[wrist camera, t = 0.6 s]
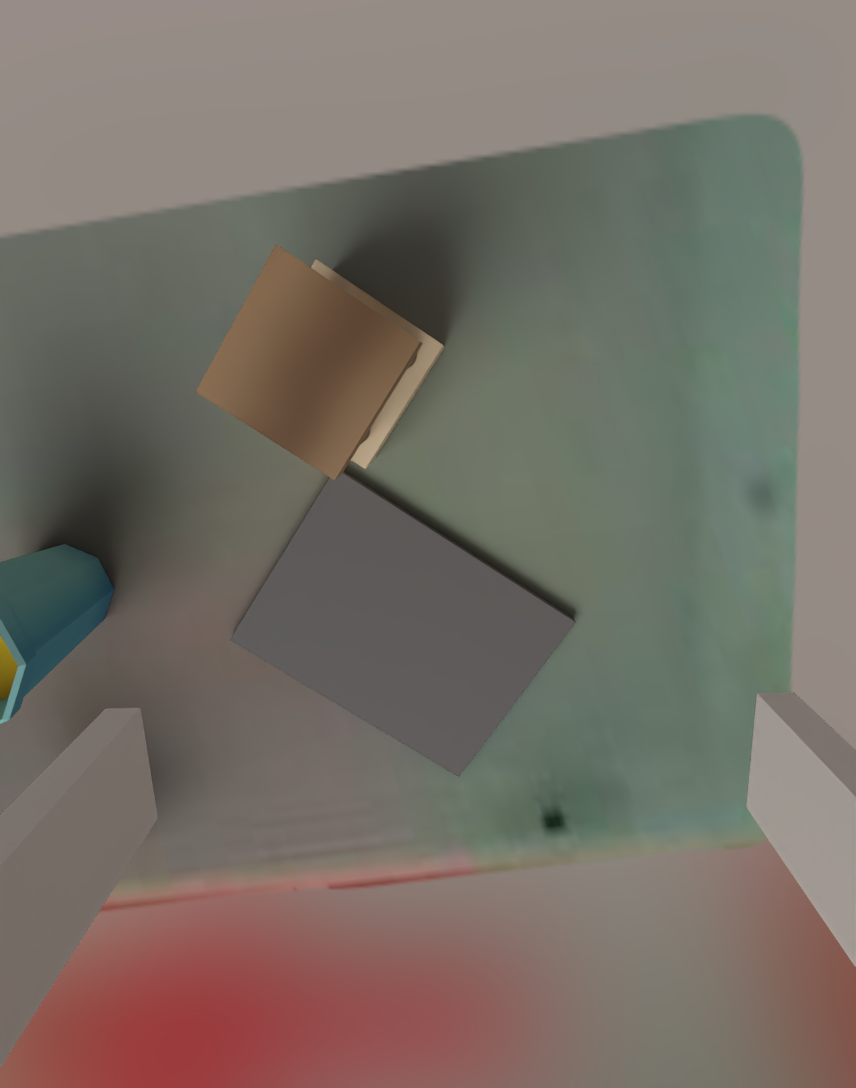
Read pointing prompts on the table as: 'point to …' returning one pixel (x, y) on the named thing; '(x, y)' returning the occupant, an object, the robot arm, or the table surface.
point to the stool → (308, 364)
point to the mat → (400, 624)
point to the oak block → (409, 379)
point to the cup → (45, 615)
